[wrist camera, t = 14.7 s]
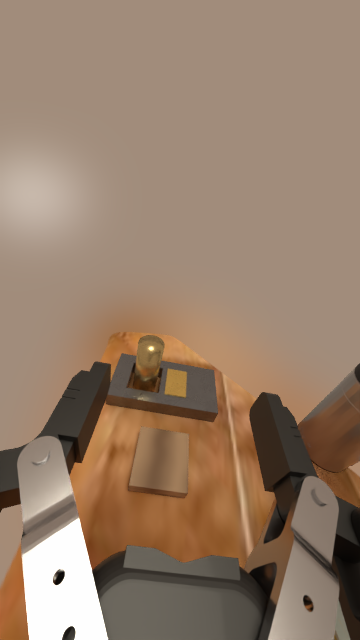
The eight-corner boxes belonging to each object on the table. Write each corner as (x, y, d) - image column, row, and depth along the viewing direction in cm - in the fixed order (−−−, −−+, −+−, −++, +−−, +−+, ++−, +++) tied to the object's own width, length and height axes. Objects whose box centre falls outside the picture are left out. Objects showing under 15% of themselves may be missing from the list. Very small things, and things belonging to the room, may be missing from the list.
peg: (156, 380, 46) (165, 337, 39) (153, 398, 42) (162, 355, 35) (135, 376, 45) (141, 333, 38) (130, 394, 42) (135, 350, 35)
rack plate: (210, 379, 49) (214, 369, 47) (213, 421, 41) (218, 412, 39) (121, 363, 47) (121, 352, 46) (105, 404, 39) (106, 393, 37)
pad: (186, 439, 37) (189, 434, 36) (184, 498, 31) (187, 493, 29) (139, 432, 37) (141, 426, 35) (128, 490, 30) (128, 485, 29)
